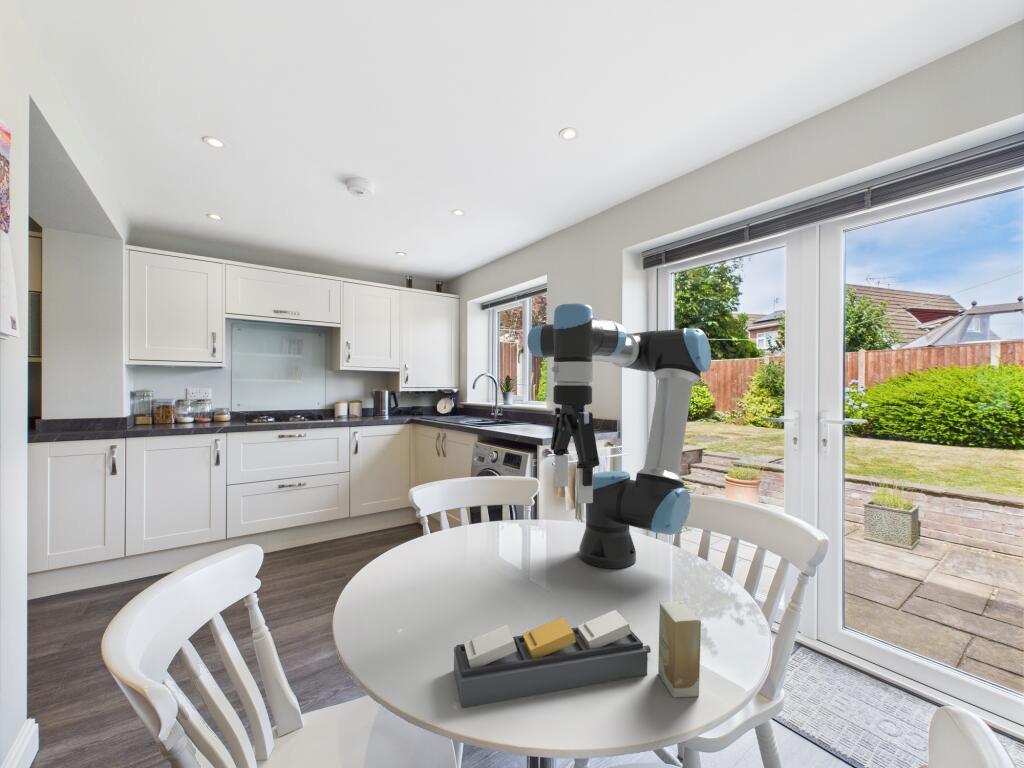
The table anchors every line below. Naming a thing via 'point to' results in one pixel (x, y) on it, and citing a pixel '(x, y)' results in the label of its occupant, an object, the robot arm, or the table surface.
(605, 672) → the power strip
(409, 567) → the table surface
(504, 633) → the rocker
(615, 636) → the block
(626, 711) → the table surface
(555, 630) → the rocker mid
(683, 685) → the skincare box
